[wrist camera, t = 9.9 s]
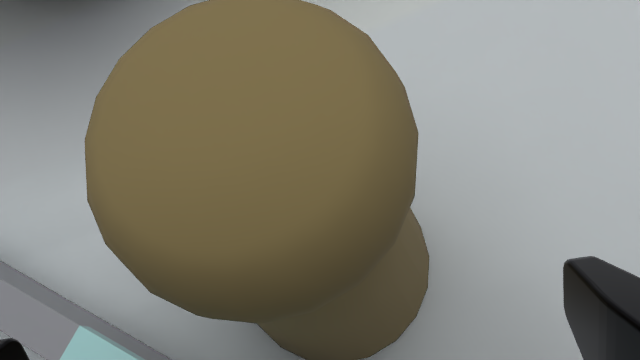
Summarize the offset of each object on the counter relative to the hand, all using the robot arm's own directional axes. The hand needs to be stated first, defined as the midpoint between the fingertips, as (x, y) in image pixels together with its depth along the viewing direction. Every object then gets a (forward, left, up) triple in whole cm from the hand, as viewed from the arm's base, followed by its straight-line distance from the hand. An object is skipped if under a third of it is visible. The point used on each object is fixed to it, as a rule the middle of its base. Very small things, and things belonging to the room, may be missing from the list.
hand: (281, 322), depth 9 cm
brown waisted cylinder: (+2, +1, -8) cm, 9 cm away
